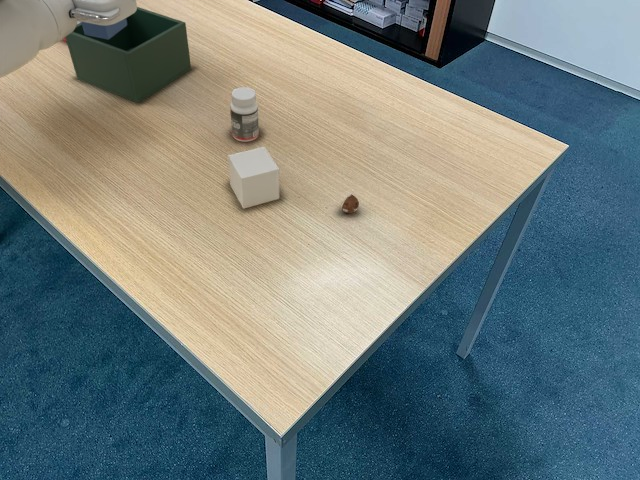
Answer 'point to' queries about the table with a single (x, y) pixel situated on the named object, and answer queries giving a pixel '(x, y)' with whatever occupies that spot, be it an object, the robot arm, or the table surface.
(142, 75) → the waste bin
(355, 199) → the chocolate
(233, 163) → the white cube
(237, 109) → the pill bottle
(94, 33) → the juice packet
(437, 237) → the table surface
